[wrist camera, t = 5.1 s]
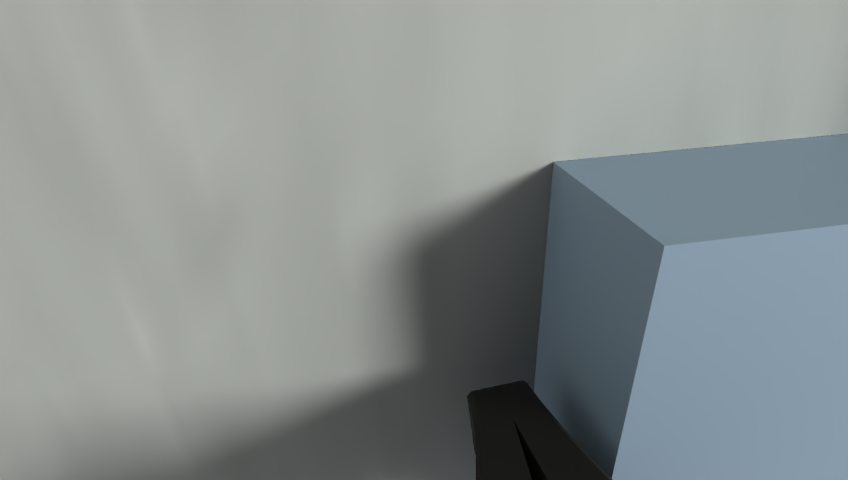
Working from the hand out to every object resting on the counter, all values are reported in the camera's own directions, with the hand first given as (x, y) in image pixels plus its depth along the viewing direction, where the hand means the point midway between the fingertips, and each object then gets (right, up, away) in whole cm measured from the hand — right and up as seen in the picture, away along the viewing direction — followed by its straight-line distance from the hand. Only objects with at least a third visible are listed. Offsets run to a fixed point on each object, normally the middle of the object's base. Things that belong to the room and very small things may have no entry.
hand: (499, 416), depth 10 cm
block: (+5, +2, +2) cm, 6 cm away
